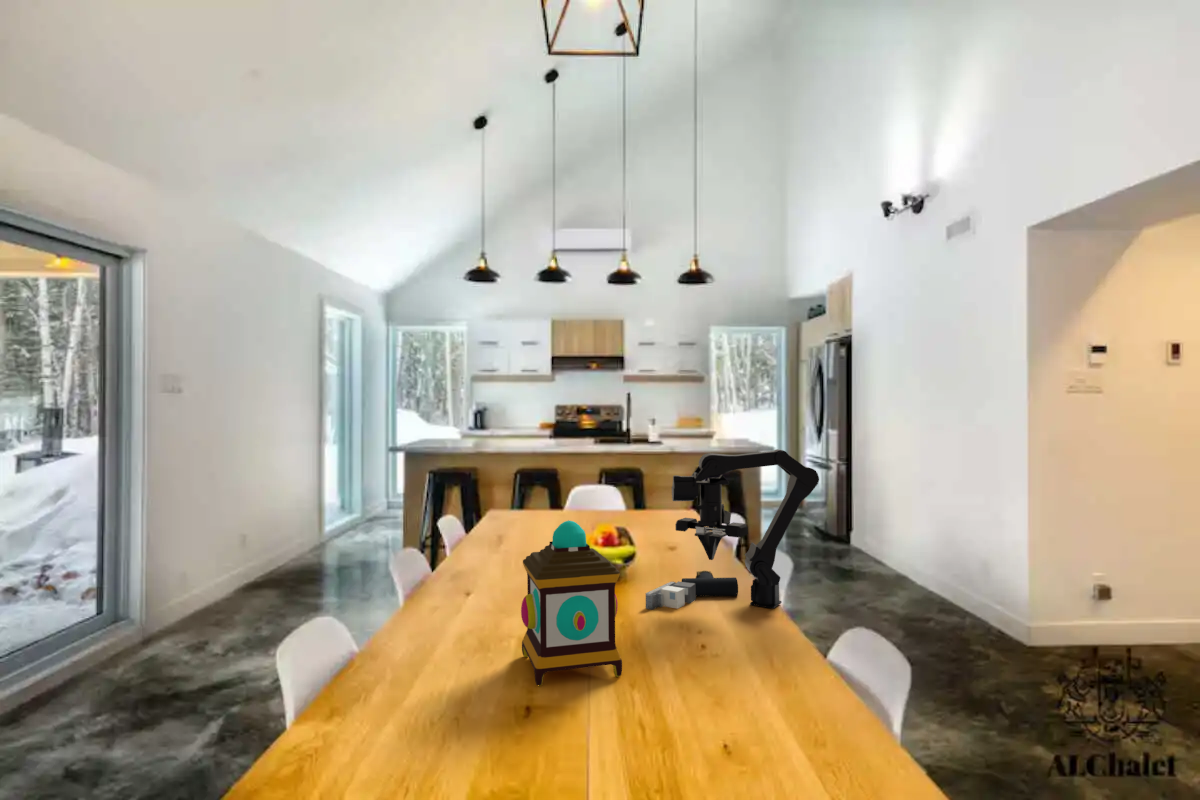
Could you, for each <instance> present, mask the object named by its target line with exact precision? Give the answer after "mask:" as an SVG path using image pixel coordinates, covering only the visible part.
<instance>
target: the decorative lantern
mask: <svg viewBox="0 0 1200 800" xmlns="http://www.w3.org/2000/svg"><path fill="white" fill-rule="evenodd" d="M522 564H523V565H522V566H523V568H524V570H525V572H526V573H527V574H526V575H527V576H526V579H527V594H526V595H525V596H524V597H523V600H522V602H521V608H520V615H521V621H522V623H523V625H524V626H525V627H526V628H527V629H526V632H525V634H524V636H523V637H522V638H523V639H522V641H521V653H522V656H523V657H524V658H528V659H529V661H530V663H531V666H532V667H533V672H534V681H535V684H536V686H537V685H539V686H538V687H541V686H542V685H543V682H544V675H545V674H546V673H549V672H557V671H565V670H566V671H567V670H575V669H584V668H590V667H591V668H593V667H600V666H601V667H602V666H611V665H612V667H613V674H614V676H615V677H616V678H619V677H621V675H622V673H623V672H622V671H623V660H622V657H621V654H620V652H619V650H618V648H617V645H616V617H617V614H618V598H617V595H616V585H617V582H618V580H619V577H620V575H621V573H620V570H618V569H617V567H616V566H615V565H614V564H612V563H611V561H609V560H608V559H607V558H606V557H605V556H603V555H602V554H601V553H599V552H598V551H597V550H596V549H594V548H591V547H590V545H589V544H588V543H587V536H586V532H585V530H584V529H583V528H582V527H581V525H579V524H578V523H577V522H575V521H573V520H569V519H568V520H565V521H563V522H562V523H561V524H559V525H558V526H557V528H556V529H555V530H554V531H553V533H552V541H549V545H548V544H547V545H545V546H544V548H542V549H540V551H533V552H531V553H530V555H527V556H526V557H525V559H522ZM540 685H541V686H540Z"/></svg>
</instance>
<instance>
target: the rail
mask: <svg viewBox="0 0 1200 800" xmlns="http://www.w3.org/2000/svg"><path fill="white" fill-rule="evenodd" d="M675 583H677V582H676V581H668V582H666V583H664V584H662V585H661V586H659V587H657V588H655V589H652V590H650V591H648V592H646V593H645V610H646V609H647V610H651V611H652V610H656V609H657V608H663V607H664V606H663V593H661V589H662V588H664V587H666V586H673V585H674V584H675Z"/></svg>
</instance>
